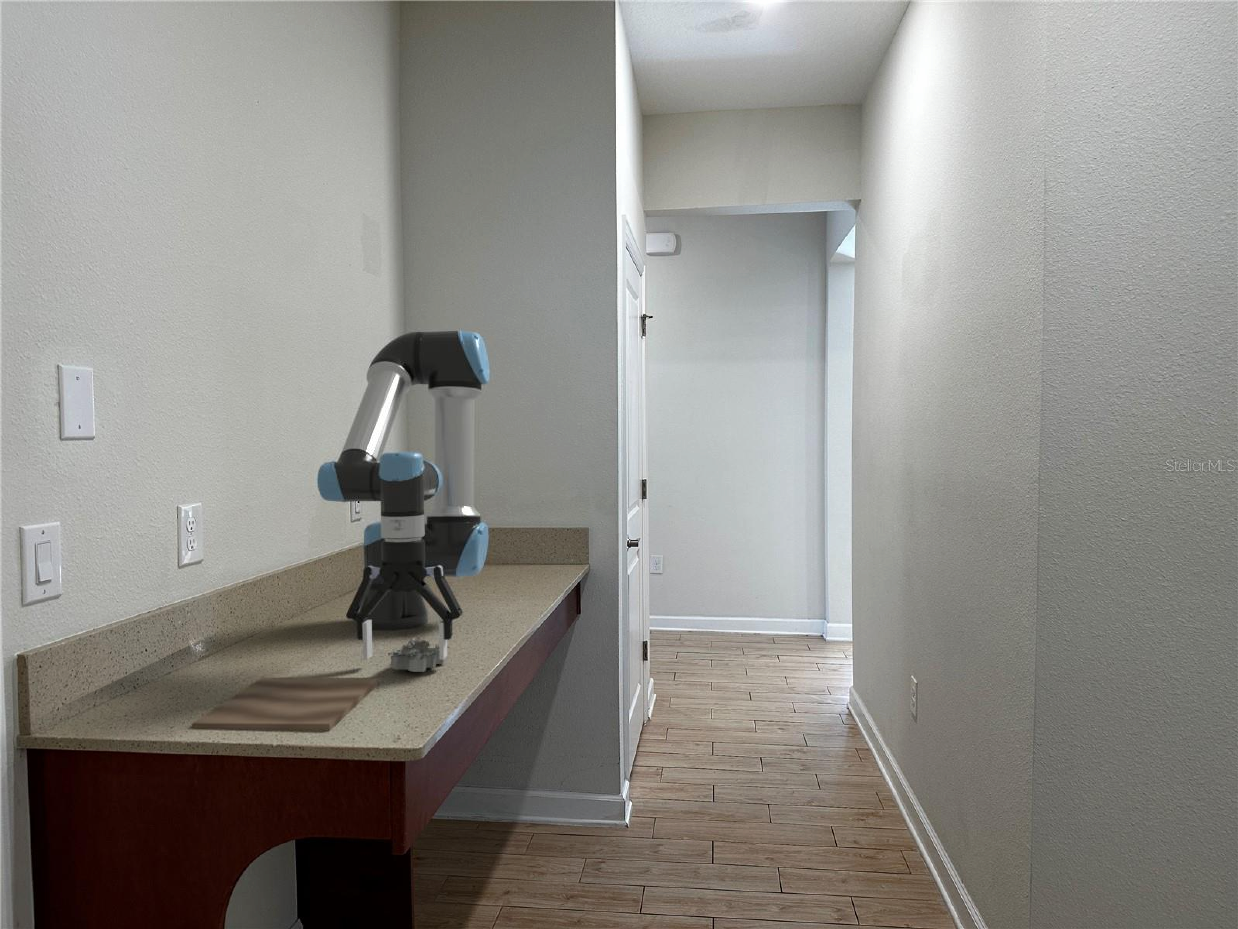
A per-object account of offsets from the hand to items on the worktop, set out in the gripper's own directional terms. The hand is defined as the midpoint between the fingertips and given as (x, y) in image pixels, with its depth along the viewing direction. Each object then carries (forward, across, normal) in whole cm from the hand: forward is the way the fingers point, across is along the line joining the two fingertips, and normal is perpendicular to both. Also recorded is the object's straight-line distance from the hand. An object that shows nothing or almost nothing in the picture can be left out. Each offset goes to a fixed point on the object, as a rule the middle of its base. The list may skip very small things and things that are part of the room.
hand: (405, 657), depth 152 cm
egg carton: (+3, 0, 0) cm, 3 cm away
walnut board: (+2, -12, -20) cm, 23 cm away
